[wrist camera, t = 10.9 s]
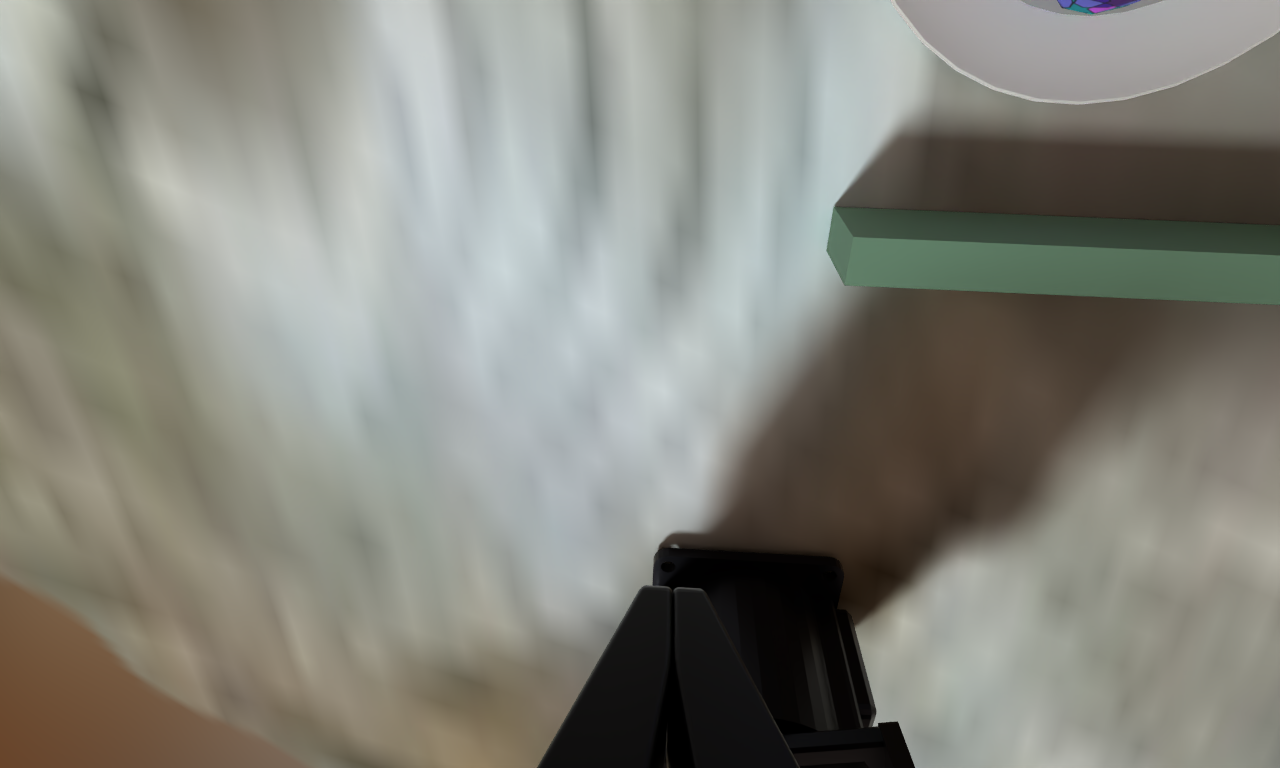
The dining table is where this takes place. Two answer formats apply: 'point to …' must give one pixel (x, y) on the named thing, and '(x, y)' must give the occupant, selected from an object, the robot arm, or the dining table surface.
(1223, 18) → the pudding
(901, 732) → the robot arm
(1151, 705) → the dining table surface
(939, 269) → the frame
